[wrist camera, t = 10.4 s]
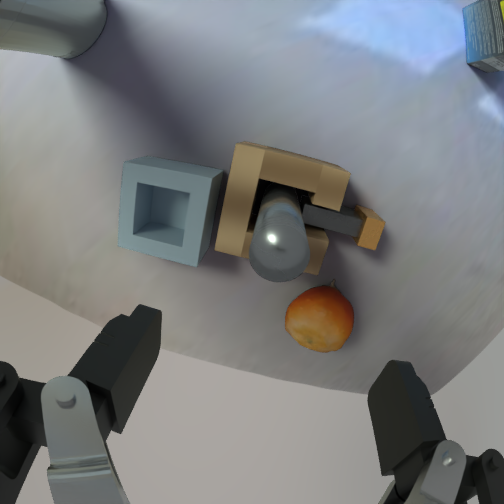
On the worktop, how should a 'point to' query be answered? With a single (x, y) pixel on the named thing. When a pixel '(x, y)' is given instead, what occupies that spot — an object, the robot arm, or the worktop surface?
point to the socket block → (284, 172)
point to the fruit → (320, 319)
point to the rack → (168, 208)
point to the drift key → (345, 221)
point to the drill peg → (279, 236)
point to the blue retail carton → (485, 34)
